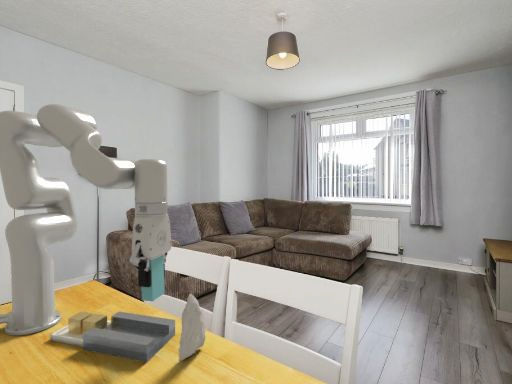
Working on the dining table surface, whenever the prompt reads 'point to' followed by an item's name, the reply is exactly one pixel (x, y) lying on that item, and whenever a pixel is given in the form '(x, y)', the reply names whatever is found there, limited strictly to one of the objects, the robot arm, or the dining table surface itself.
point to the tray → (68, 336)
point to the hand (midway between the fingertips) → (152, 281)
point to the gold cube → (95, 322)
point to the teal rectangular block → (155, 279)
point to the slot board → (128, 354)
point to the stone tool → (191, 328)
